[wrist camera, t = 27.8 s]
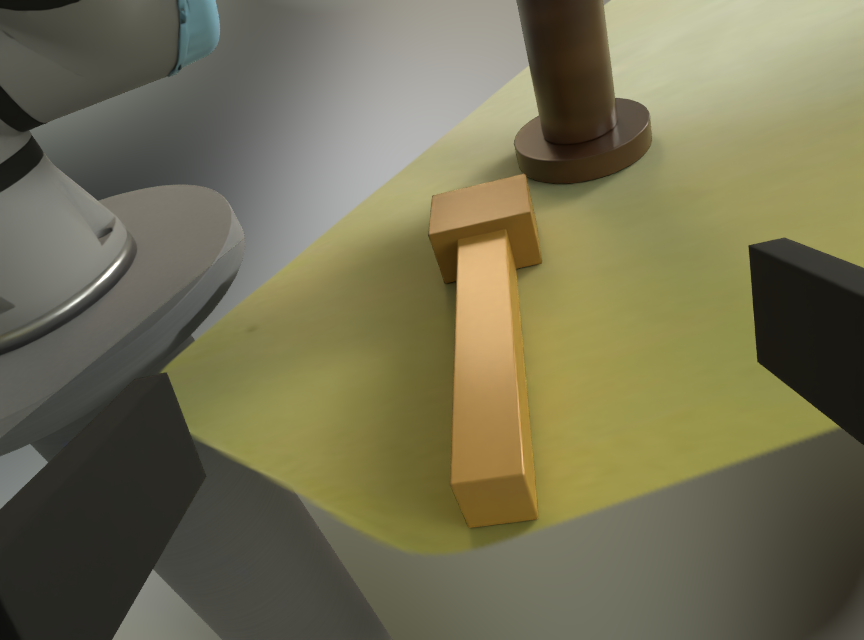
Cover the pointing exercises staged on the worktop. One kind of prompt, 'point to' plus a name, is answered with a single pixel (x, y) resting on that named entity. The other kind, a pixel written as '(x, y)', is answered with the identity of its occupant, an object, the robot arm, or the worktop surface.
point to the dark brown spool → (575, 97)
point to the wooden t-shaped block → (488, 346)
